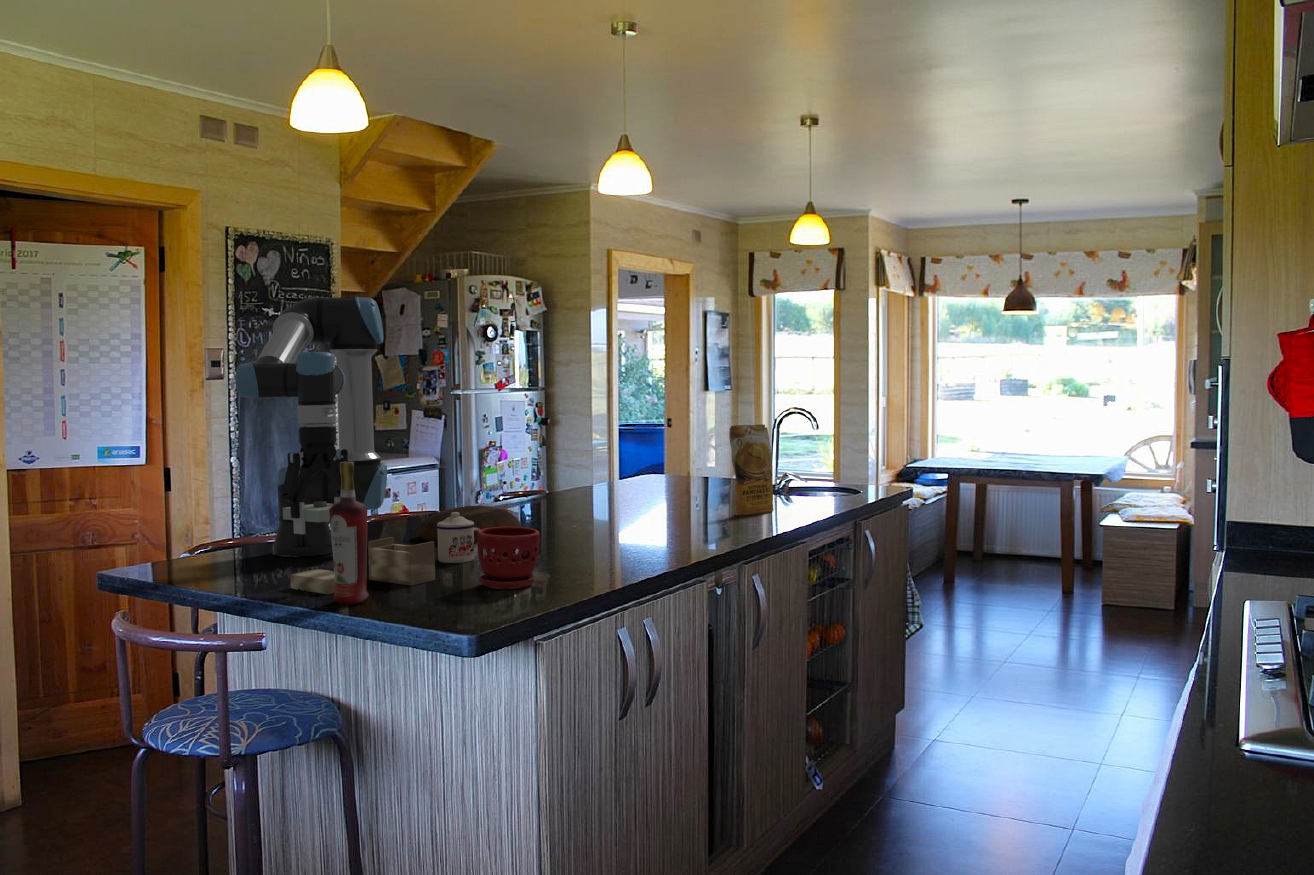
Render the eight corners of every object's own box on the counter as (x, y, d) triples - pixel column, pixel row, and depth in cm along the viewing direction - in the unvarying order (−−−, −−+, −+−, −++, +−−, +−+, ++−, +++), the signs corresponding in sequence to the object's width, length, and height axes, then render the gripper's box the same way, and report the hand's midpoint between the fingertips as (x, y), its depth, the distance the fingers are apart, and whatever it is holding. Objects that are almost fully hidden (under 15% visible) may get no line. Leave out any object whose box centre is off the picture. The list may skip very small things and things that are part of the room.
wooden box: (369, 579, 231) (368, 541, 231) (393, 574, 237) (392, 536, 237) (411, 585, 224) (410, 546, 223) (435, 579, 230) (434, 541, 229)
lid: (283, 519, 220) (282, 503, 220) (321, 513, 228) (321, 498, 228) (319, 522, 214) (318, 505, 214) (357, 516, 222) (356, 500, 222)
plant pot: (487, 594, 214) (485, 536, 213) (472, 583, 226) (470, 528, 225) (548, 588, 219) (547, 531, 219) (530, 577, 231) (529, 523, 231)
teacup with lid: (449, 565, 247) (448, 516, 247) (430, 560, 254) (428, 512, 253) (492, 558, 255) (491, 511, 254) (473, 554, 262) (471, 507, 261)
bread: (542, 534, 294) (541, 503, 293) (478, 549, 270) (478, 516, 270) (464, 527, 308) (464, 498, 308) (398, 541, 285) (397, 509, 284)
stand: (290, 588, 223) (290, 574, 222) (317, 582, 229) (317, 569, 228) (328, 594, 216) (327, 580, 216) (355, 588, 222) (354, 574, 222)
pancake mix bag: (722, 514, 327) (722, 425, 325) (766, 509, 339) (766, 423, 337) (737, 517, 322) (736, 426, 320) (781, 511, 334) (781, 423, 332)
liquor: (324, 604, 206) (319, 463, 204) (347, 597, 213) (343, 460, 211) (355, 607, 204) (350, 464, 202) (377, 599, 210) (373, 461, 209)
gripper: (283, 428, 209) (287, 538, 210) (371, 423, 228) (374, 525, 229) (259, 427, 213) (263, 536, 214) (347, 423, 232) (350, 523, 233)
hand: (320, 530), depth 221 cm, fingers closed on lid, 10 cm apart
